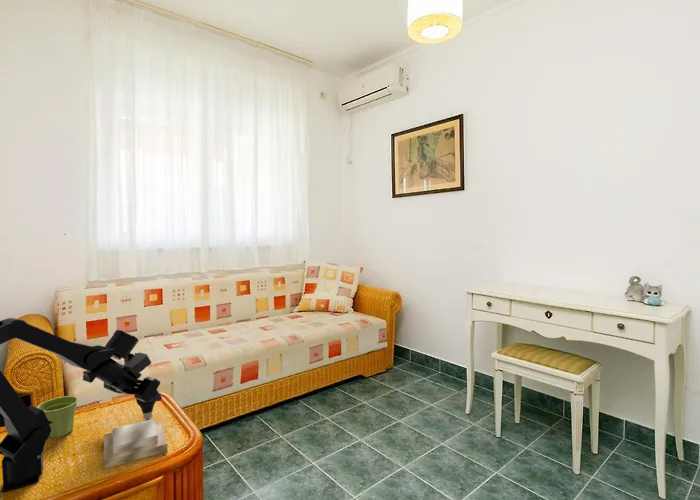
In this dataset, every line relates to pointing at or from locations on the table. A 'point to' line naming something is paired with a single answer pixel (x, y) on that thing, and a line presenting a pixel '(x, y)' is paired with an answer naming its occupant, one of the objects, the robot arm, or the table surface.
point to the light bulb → (146, 408)
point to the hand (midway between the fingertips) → (150, 396)
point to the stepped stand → (134, 442)
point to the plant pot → (60, 414)
